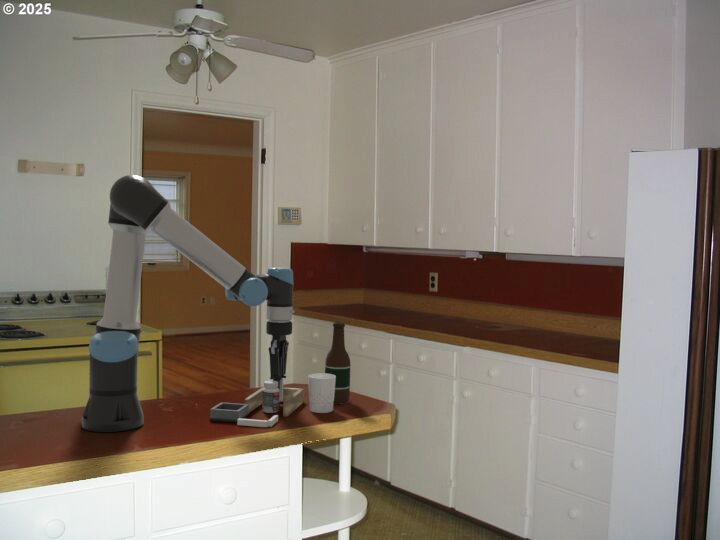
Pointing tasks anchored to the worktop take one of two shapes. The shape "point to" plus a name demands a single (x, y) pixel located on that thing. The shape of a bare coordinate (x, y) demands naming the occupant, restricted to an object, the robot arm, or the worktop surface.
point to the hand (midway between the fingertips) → (277, 400)
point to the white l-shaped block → (258, 422)
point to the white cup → (321, 392)
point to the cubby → (290, 399)
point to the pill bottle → (270, 397)
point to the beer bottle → (339, 364)
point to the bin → (229, 412)
